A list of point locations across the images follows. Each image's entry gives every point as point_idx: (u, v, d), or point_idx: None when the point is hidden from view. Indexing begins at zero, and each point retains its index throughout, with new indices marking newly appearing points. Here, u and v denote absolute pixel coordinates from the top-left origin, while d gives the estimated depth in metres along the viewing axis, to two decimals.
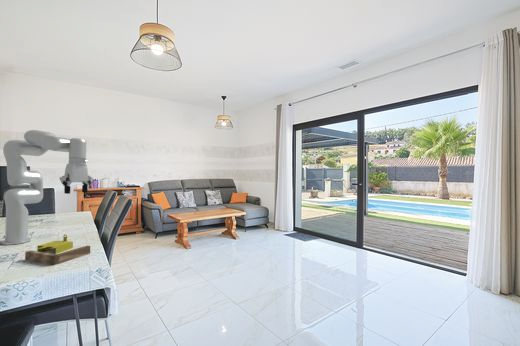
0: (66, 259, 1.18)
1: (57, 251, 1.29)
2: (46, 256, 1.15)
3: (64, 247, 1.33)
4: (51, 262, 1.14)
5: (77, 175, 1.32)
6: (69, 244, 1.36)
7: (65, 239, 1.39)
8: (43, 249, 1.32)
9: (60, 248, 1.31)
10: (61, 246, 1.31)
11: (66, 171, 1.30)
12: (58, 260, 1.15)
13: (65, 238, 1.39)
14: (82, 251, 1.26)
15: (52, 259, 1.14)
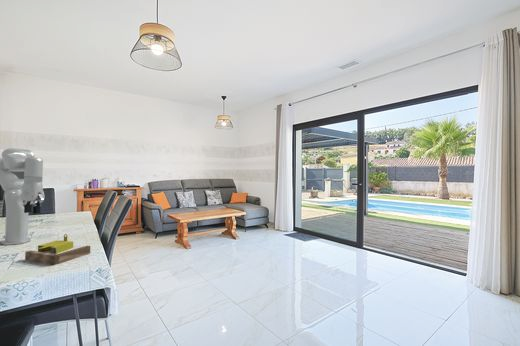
0: (66, 259, 1.18)
1: (57, 251, 1.29)
2: (46, 256, 1.15)
3: (64, 246, 1.33)
4: (51, 262, 1.14)
5: None
6: (70, 244, 1.37)
7: (65, 239, 1.40)
8: (43, 249, 1.32)
9: (61, 248, 1.31)
10: (61, 246, 1.32)
11: (37, 190, 1.34)
12: (58, 260, 1.15)
13: (65, 238, 1.40)
14: (82, 251, 1.26)
15: (52, 259, 1.14)
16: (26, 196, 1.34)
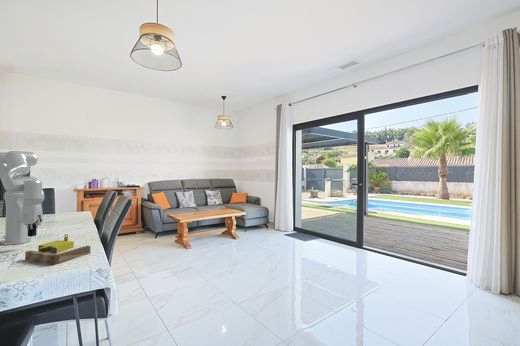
0: (66, 259, 1.18)
1: (58, 251, 1.30)
2: (46, 256, 1.15)
3: (65, 246, 1.33)
4: (51, 262, 1.14)
5: None
6: (70, 244, 1.37)
7: (66, 239, 1.40)
8: (44, 249, 1.33)
9: (61, 248, 1.32)
10: (62, 246, 1.32)
11: (37, 213, 1.34)
12: (58, 260, 1.15)
13: (66, 238, 1.40)
14: (82, 251, 1.26)
15: (52, 259, 1.14)
16: (26, 219, 1.33)
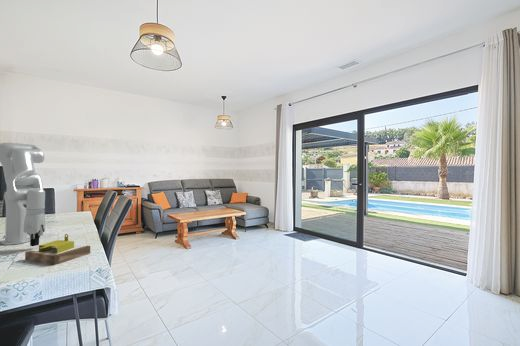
0: (66, 259, 1.18)
1: (58, 251, 1.30)
2: (46, 256, 1.15)
3: (65, 246, 1.34)
4: (51, 262, 1.14)
5: None
6: (71, 244, 1.37)
7: (66, 239, 1.40)
8: (44, 249, 1.33)
9: (62, 248, 1.32)
10: (62, 246, 1.32)
11: (39, 223, 1.33)
12: (58, 260, 1.15)
13: (66, 238, 1.40)
14: (82, 251, 1.26)
15: (52, 259, 1.14)
16: (28, 229, 1.33)
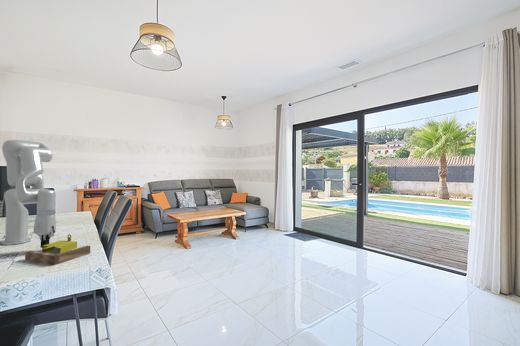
0: (66, 259, 1.18)
1: (62, 251, 1.30)
2: (46, 256, 1.15)
3: (68, 246, 1.34)
4: (51, 262, 1.14)
5: None
6: (74, 244, 1.37)
7: (69, 239, 1.40)
8: (48, 249, 1.33)
9: (65, 248, 1.32)
10: (66, 246, 1.32)
11: (50, 224, 1.31)
12: (58, 260, 1.15)
13: (69, 238, 1.40)
14: (82, 251, 1.26)
15: (52, 259, 1.14)
16: (39, 230, 1.31)
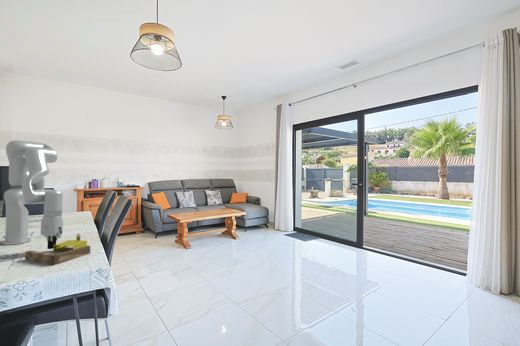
0: (66, 259, 1.18)
1: None
2: (46, 256, 1.15)
3: (80, 246, 1.35)
4: (51, 262, 1.14)
5: None
6: (84, 243, 1.39)
7: (78, 238, 1.41)
8: (58, 249, 1.34)
9: (77, 247, 1.34)
10: (77, 245, 1.34)
11: (57, 225, 1.30)
12: (58, 260, 1.15)
13: (78, 237, 1.41)
14: (82, 251, 1.26)
15: (52, 259, 1.14)
16: (46, 231, 1.29)
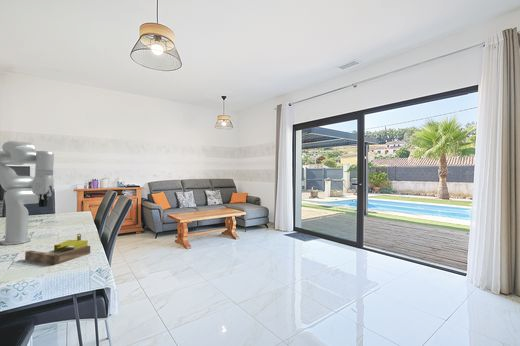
0: (66, 259, 1.18)
1: None
2: (46, 256, 1.15)
3: (80, 245, 1.36)
4: (51, 262, 1.14)
5: None
6: (85, 243, 1.39)
7: (79, 238, 1.42)
8: (59, 248, 1.34)
9: (78, 247, 1.34)
10: (78, 245, 1.34)
11: (48, 183, 1.35)
12: (58, 260, 1.15)
13: (79, 237, 1.42)
14: (82, 251, 1.26)
15: (52, 259, 1.14)
16: (37, 189, 1.34)
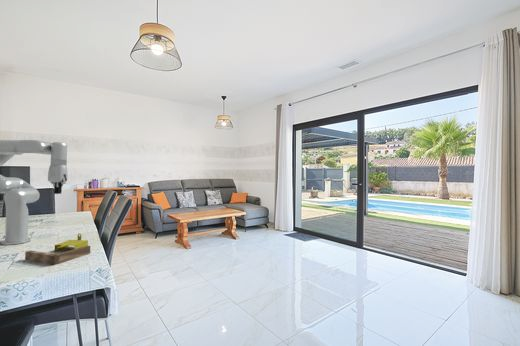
0: (66, 259, 1.18)
1: None
2: (46, 256, 1.15)
3: (81, 245, 1.36)
4: (51, 262, 1.14)
5: None
6: (85, 243, 1.40)
7: (79, 238, 1.42)
8: (59, 248, 1.34)
9: (78, 247, 1.34)
10: (79, 245, 1.35)
11: (62, 172, 1.47)
12: (58, 260, 1.15)
13: (79, 237, 1.42)
14: (82, 251, 1.26)
15: (52, 259, 1.14)
16: (52, 177, 1.46)
